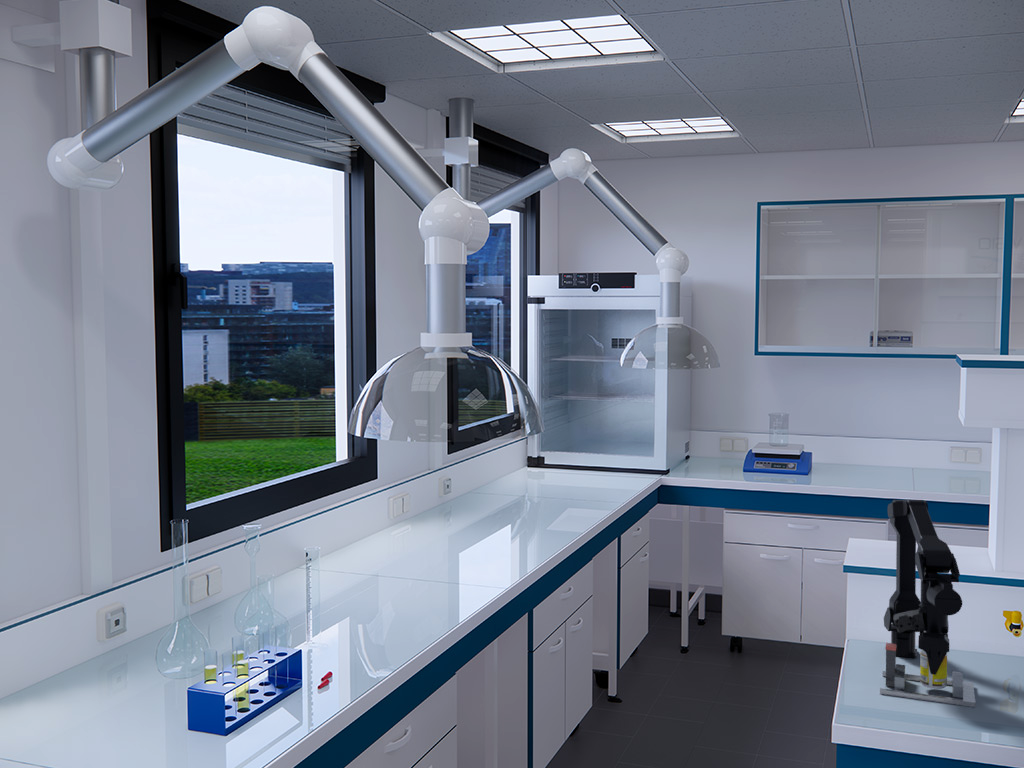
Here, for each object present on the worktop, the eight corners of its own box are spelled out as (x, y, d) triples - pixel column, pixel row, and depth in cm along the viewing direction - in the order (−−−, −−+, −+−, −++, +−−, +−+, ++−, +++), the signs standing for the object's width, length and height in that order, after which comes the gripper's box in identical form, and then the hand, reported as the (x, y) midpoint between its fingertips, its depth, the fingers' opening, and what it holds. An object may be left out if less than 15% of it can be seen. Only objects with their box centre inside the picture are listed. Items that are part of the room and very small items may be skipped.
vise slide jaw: (886, 677, 220) (886, 638, 219) (905, 679, 218) (905, 640, 218) (884, 690, 211) (884, 650, 211) (904, 693, 210) (904, 652, 209)
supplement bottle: (950, 684, 212) (950, 640, 211) (941, 691, 208) (942, 647, 207) (925, 678, 215) (925, 635, 215) (916, 685, 211) (916, 641, 211)
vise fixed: (882, 674, 222) (882, 660, 222) (973, 686, 214) (973, 671, 214) (879, 693, 210) (880, 678, 210) (975, 707, 202) (975, 691, 202)
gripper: (897, 588, 222) (896, 652, 223) (894, 609, 205) (893, 678, 206) (948, 593, 218) (947, 658, 219) (949, 615, 201) (948, 686, 202)
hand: (933, 669), depth 211 cm, fingers closed on supplement bottle, 5 cm apart
